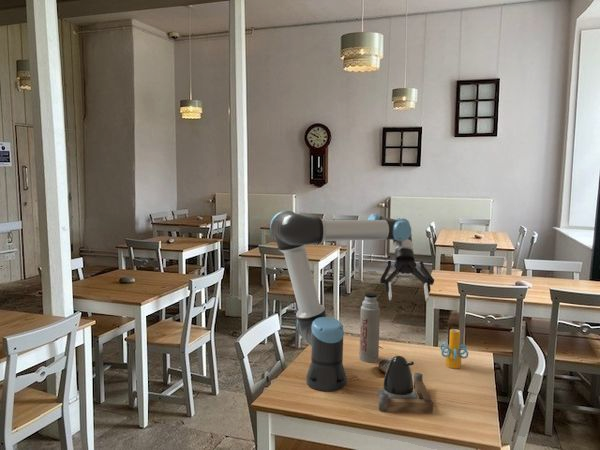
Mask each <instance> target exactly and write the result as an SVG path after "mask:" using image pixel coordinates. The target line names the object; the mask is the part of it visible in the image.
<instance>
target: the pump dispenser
mask: <svg viewBox="0 0 600 450" xmlns="http://www.w3.org/2000/svg"><path fill="white" fill-rule="evenodd" d="M414 364H415V363H414V361H408V360H407V359H406V358H405V357H404V356H402V355H395V356H394V357H392V358H391V360H390V362H389V363H388V366H387V368H386V370H385V374H384V379H383V385H382V386H383V390H385V393H386V394H387V395H388V397H389V398H396V399H408V398H409V397H410V396H411V394H412V392H413V391H414V378H413V374H412V371H411V367H410V366H414Z"/></svg>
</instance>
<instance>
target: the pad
mask: <svg viewBox="0 0 600 450" xmlns="http://www.w3.org/2000/svg"><path fill="white" fill-rule="evenodd" d="M377 392H378V395H379V394H382V393H384V394H386V393H385V390H384V389H377ZM388 398H389V397H388ZM408 399H418V396H417V393H416V391H415V390H413V392H412V394H411V396H410V397H409V398H408Z"/></svg>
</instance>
